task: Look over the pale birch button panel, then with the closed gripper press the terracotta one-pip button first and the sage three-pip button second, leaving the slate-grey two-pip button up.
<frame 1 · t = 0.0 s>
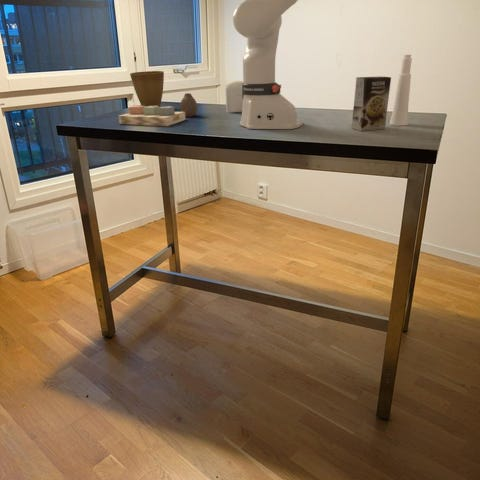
vase: (189, 116, 176), on the table
cookie box: (368, 129, 141), on the table
cosmetic bottle: (398, 124, 146), on the table
plant pot: (151, 109, 196), on the table
button three: (151, 110, 163), point 4 cm above the table, slide at 0.0 cm
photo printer: (238, 112, 182), on the table
button panel: (153, 121, 165), on the table
button two: (166, 111, 161), point 4 cm above the table, slide at 0.0 cm
button one: (137, 110, 166), point 4 cm above the table, slide at 0.0 cm
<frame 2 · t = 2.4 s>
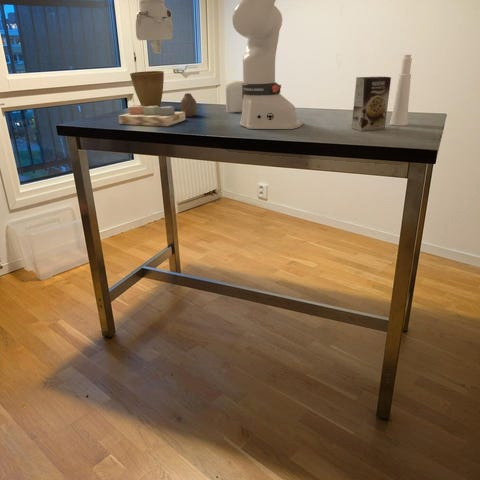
hand: (157, 53, 161), 24 cm above the table, fingers closed
nothing on the table moved.
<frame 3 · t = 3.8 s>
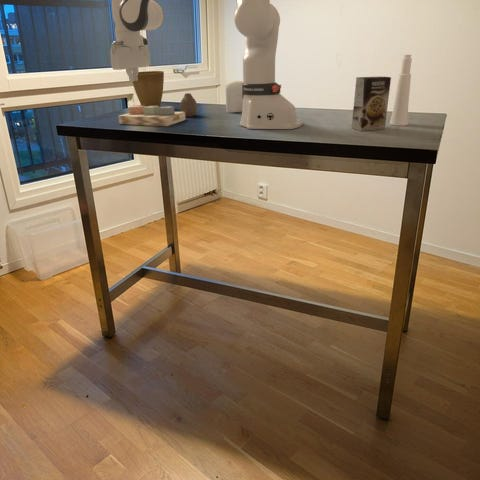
hand: (133, 81, 161), 15 cm above the table, fingers closed
nothing on the table moved.
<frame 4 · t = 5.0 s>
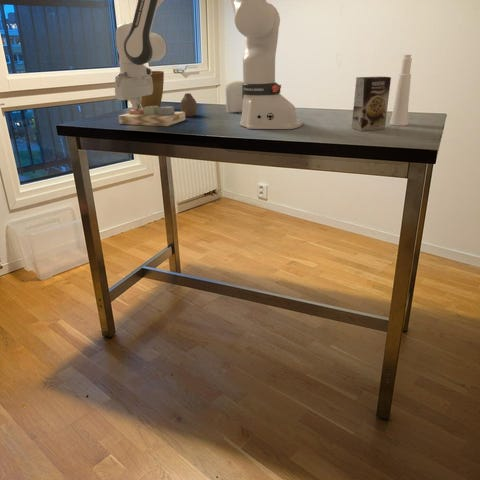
hand: (136, 109, 165), 4 cm above the table, fingers closed, pressing on button one
button one: (137, 113, 166), point 3 cm above the table, slide at 1.4 cm, touching gripper
everything else where it was.
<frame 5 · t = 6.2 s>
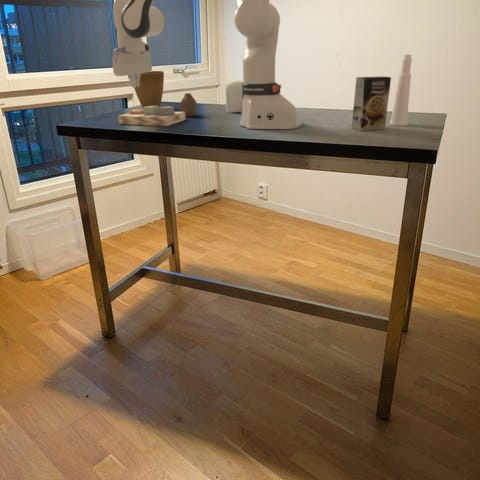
hand: (135, 87, 162), 13 cm above the table, fingers closed
button one: (138, 114, 166), point 3 cm above the table, slide at 1.5 cm
everything else where it was.
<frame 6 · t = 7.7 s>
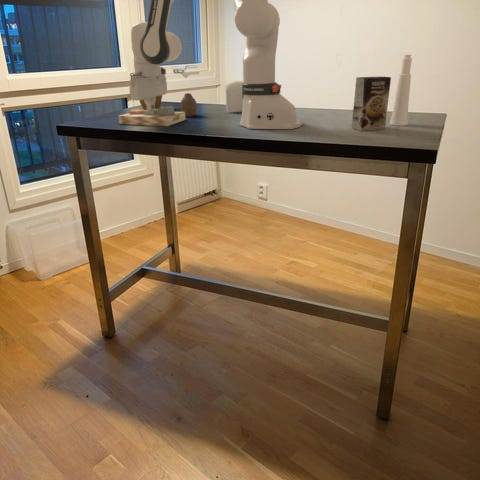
hand: (151, 109, 163), 4 cm above the table, fingers closed, pressing on button three
button three: (152, 114, 164), point 3 cm above the table, slide at 1.3 cm, touching gripper
everything else where it was.
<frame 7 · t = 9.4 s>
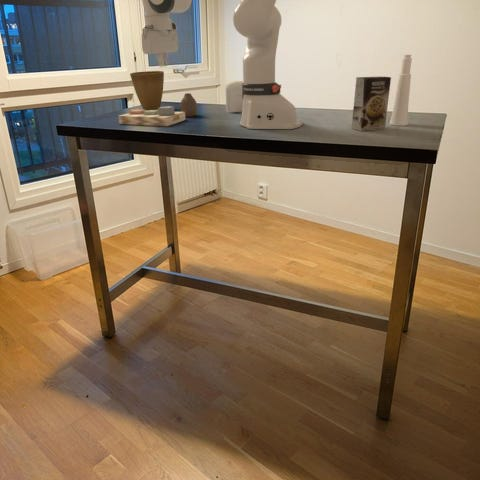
hand: (163, 66, 160), 20 cm above the table, fingers closed
button three: (152, 114, 164), point 3 cm above the table, slide at 1.5 cm
everything else where it was.
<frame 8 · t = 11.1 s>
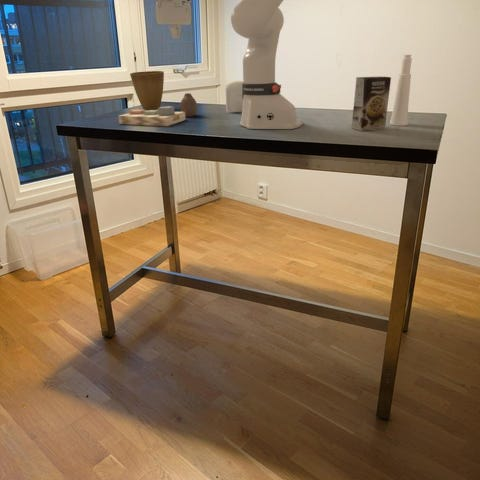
hand: (176, 38, 160), 29 cm above the table, fingers closed
nothing on the table moved.
at the end: button one slide at 1.5 cm; button three slide at 1.5 cm; button two slide at 0.0 cm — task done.
